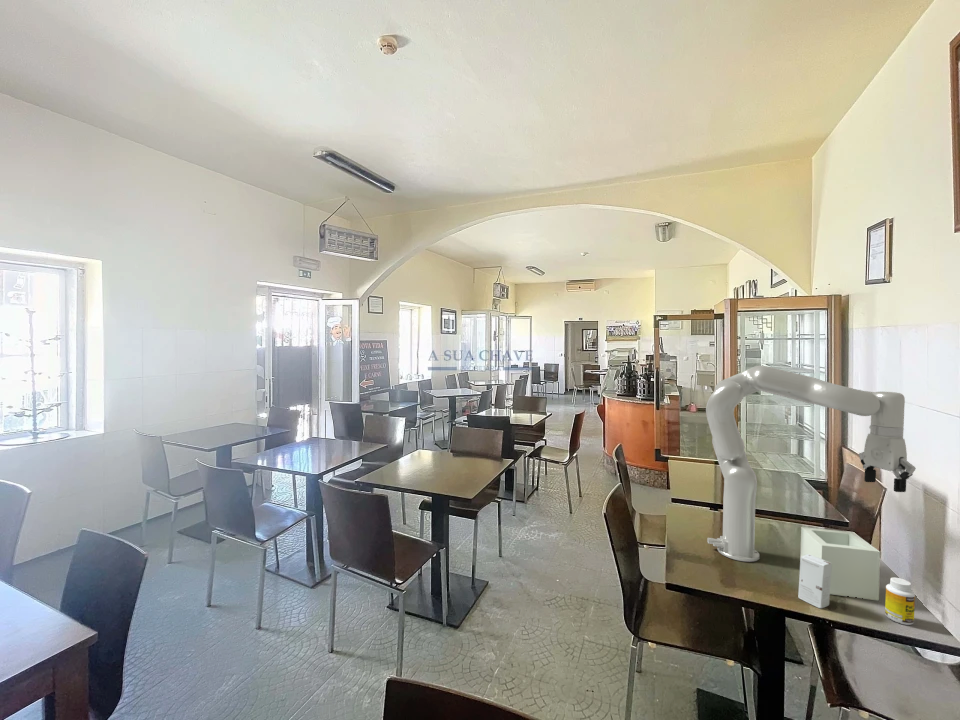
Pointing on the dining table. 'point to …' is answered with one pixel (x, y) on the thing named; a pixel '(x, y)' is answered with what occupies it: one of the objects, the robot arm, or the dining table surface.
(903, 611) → the supplement bottle
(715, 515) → the dining table surface
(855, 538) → the holder
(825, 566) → the skincare box
